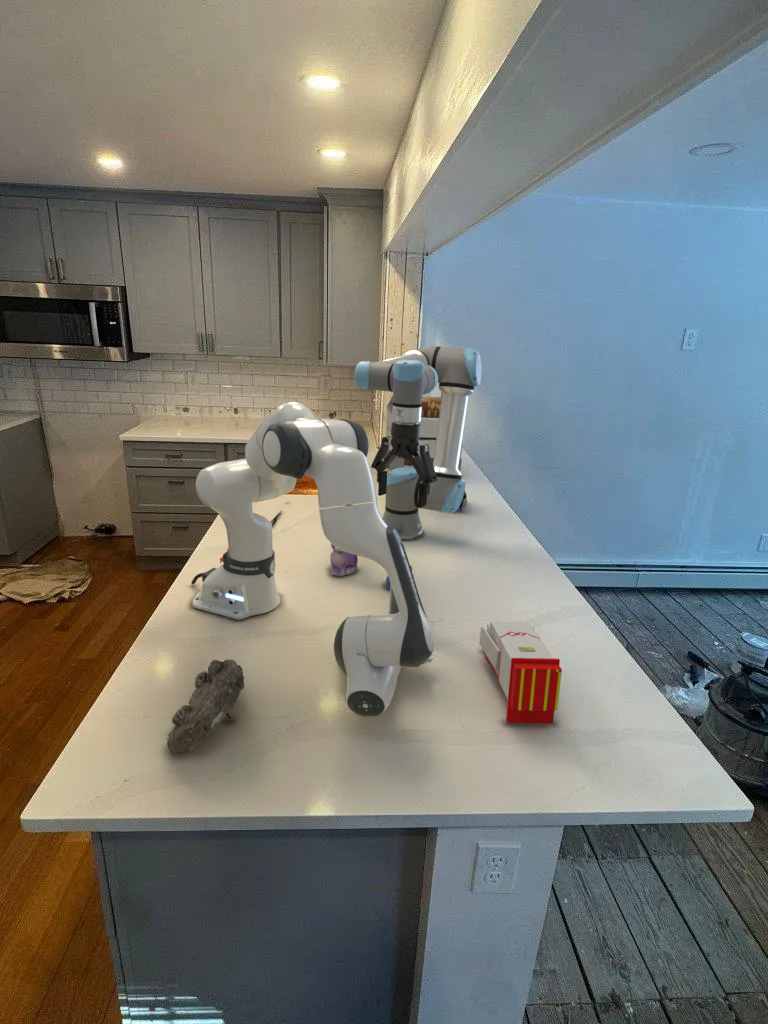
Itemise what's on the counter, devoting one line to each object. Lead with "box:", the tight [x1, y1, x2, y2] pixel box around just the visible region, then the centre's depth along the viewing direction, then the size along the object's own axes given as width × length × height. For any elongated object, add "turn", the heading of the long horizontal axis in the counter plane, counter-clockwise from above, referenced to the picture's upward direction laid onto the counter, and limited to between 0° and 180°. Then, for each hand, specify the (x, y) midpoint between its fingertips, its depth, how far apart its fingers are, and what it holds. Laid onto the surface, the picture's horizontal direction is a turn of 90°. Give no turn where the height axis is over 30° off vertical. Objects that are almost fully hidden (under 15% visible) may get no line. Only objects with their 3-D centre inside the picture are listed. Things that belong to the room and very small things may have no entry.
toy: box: [478, 620, 563, 725], centre depth 121 cm, size 12×13×30 cm
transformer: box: [383, 391, 465, 474], centre depth 268 cm, size 34×33×41 cm
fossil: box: [166, 658, 245, 754], centre depth 106 cm, size 22×10×15 cm
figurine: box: [329, 542, 359, 577], centre depth 168 cm, size 9×10×15 cm
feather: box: [269, 510, 282, 527], centre depth 212 cm, size 2×28×2 cm
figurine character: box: [457, 491, 468, 512], centre depth 228 cm, size 7×8×15 cm
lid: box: [385, 575, 391, 591], centre depth 162 cm, size 6×6×2 cm
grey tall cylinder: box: [388, 564, 415, 614], centre depth 141 cm, size 6×6×16 cm
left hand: (393, 623), depth 131 cm, fingers open, 8 cm apart
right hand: (401, 500), depth 153 cm, fingers open, 13 cm apart
